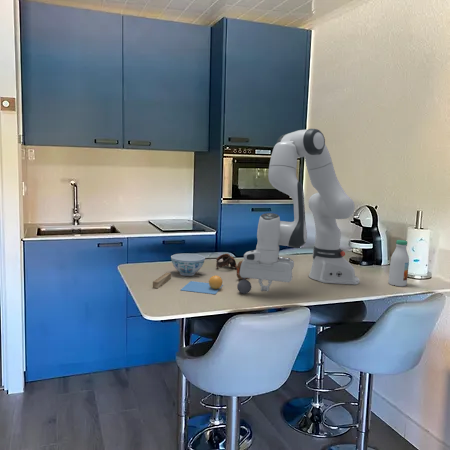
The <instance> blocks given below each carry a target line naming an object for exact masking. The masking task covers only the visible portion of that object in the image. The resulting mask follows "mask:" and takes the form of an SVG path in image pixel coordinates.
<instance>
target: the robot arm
mask: <svg viewBox="0 0 450 450" xmlns="http://www.w3.org/2000/svg"><path fill="white" fill-rule="evenodd" d="M299 158H304V162H305V165H306V166H305V167H306V169H307V173H308V177H309V181H310V184H311V185H312V187H313V188H314V189H315V190H316V191H317V192H316V193H313V194H312V195H311V196H310V197H309V199H308V208H309V210H310V211H311V213H312V217H313V220H314V226H315V239H314V246H313V248H312V249H313V250H312V259H313V260H312V264H311V268H310V271H309V274H308V278H310V279H312V280H313V281H314V280H315V281H318V282H320V283H323V284H340V285H355V286H356V285H359V284H360V278H359V277H358V276H356V271H355V268H354V266H353V265H352V264H351V263H350V262H349V261H348V260H347V259H346V258H345V256H346V252H345V251H344V250H343V249H341V248H340V247H341V236H342V232H341V229H340V227H339V226H338V224H337V223H338V222H337V220H346V219H349V218H351V216H352V215H353V214H354V212H355V209H356V208H355V202H354V200H353V199H352V198H351V197H350V196H349V195H348V194H347V193H346V192H345V190H344V188H343V186H342V185H341V183H340V182H339V180H338V177H337V174H336V171H335V167H334V164H333V160H332V157H331V154H330V151H329V149H328V147H327V145H326V139H325V136H324V134H323V133H322V131H321V130H320V129H317V128H308V129H299V130H295V131H292V132H289V133H285V134H282V135H281V136H279V137H278V139H277V140H276V144H275V145H274V146H273V149H272V152H271V156H270V160H269V166H268V173H267V175H268V176H267V177H268V182H269V184H270V185H271V187H273V188H274V189H276V190H278V191H279V192H282V193H283V194H286V195H288V196H289V197H291V199H292V202H293V217H294V219H293V221H284V220H281V219H280V217H281V216H280V215H279V214H277V213H275V212H274V213H273V212H266V213H263V214H261V215H260V216H259V219H258V224H257V232H256V238H257V244H256V247H255V249H254V250H249V251H246V252H245V253H244V254H243V260H242V261H243V262H242V263H241V267H240V276H241V277H243V278H249V279H253V280H258V284H259V286H260V291H262V292H263V291H264V292H269V290H270V287H271V285H272V283H273V282H283V283H290V282H291V281H292V280H293V269H294V268H295V261H294V259H292V258H290V257H284V256H279V255H280V246H285V247H286V246H287V247H290V248H295V249H299V248H301V247H302V246H303V245H305V244H306V243H307V239H308V231H307V225H306V211H305V210H306V207H305V194H304V193H305V192H304V187H303V184H302V182H300V181H299V180H298V177H297V167H298V159H299ZM263 281H267V283H268V284H267V285H264V284H263Z"/></svg>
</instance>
